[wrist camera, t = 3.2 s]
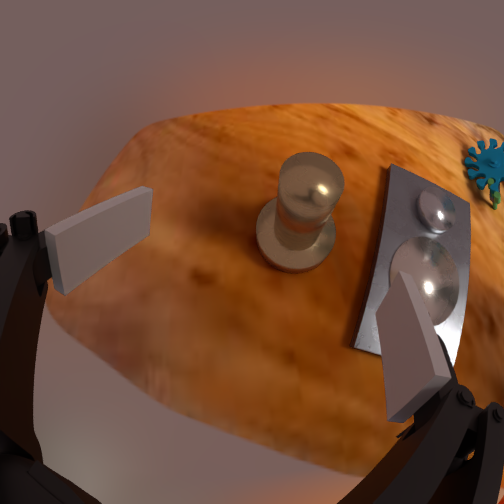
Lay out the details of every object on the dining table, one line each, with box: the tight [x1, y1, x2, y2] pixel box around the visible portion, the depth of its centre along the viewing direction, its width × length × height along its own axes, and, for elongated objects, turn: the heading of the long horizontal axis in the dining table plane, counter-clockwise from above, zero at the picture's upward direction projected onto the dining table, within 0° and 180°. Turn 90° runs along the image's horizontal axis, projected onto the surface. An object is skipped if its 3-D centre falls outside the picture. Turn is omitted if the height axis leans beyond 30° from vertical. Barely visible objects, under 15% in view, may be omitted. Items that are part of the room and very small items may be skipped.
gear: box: [465, 139, 504, 210], centre depth 25 cm, size 11×6×10 cm
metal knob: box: [256, 152, 344, 274], centre depth 20 cm, size 7×7×10 cm
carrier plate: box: [350, 163, 471, 366], centre depth 23 cm, size 12×20×2 cm, turn 159°
